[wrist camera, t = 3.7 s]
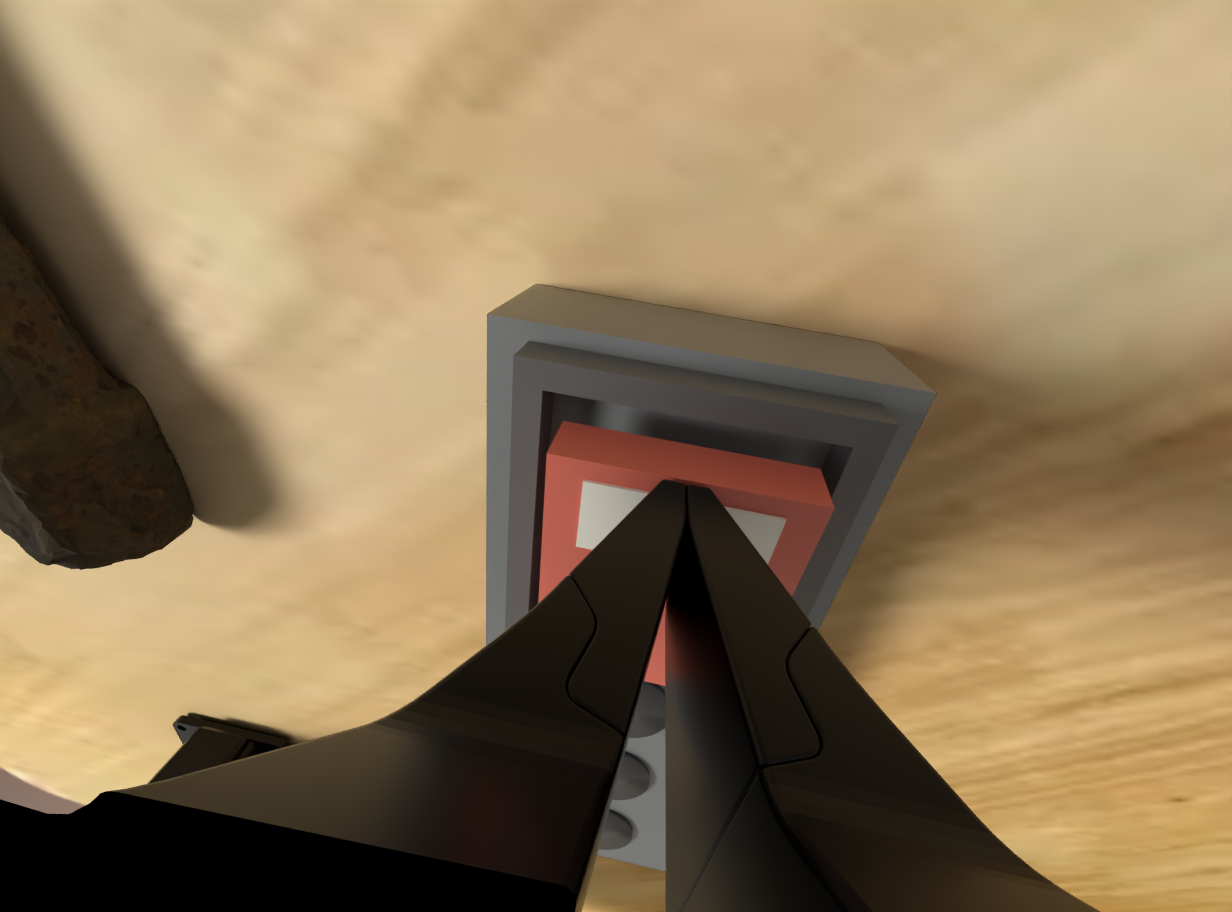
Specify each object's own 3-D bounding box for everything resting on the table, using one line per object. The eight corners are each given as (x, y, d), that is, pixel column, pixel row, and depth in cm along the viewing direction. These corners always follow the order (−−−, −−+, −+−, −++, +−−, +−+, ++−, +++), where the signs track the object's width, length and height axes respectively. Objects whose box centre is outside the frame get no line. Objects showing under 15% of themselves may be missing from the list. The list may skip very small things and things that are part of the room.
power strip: (693, 788, 23) (693, 908, 19) (512, 747, 24) (476, 856, 20) (878, 342, 12) (961, 413, 9) (535, 284, 13) (467, 326, 9)
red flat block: (737, 657, 13) (740, 705, 11) (548, 617, 13) (534, 660, 12) (820, 468, 9) (836, 510, 8) (563, 420, 10) (545, 455, 8)
